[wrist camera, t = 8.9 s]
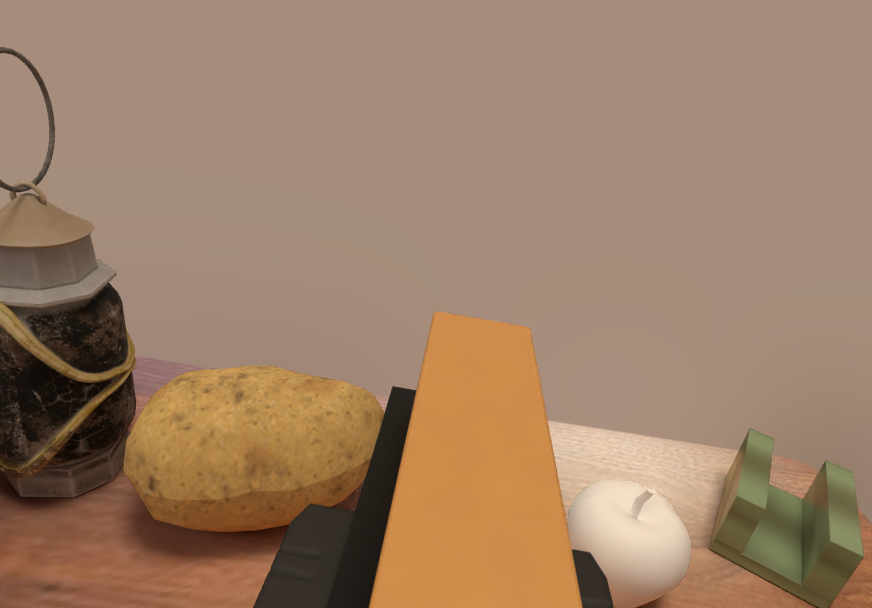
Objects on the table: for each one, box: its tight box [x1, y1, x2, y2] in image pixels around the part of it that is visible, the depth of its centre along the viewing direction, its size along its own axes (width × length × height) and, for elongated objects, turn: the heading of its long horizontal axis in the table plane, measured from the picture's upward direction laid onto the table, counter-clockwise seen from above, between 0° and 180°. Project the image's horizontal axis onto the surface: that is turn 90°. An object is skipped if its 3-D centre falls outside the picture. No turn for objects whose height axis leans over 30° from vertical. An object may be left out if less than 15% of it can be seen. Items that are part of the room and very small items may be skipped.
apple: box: [567, 480, 691, 608], centre depth 31 cm, size 7×7×8 cm
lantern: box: [0, 47, 136, 497], centre depth 29 cm, size 9×8×25 cm
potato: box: [123, 366, 385, 532], centre depth 32 cm, size 10×14×10 cm
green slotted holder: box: [710, 429, 864, 608], centre depth 37 cm, size 10×7×5 cm
